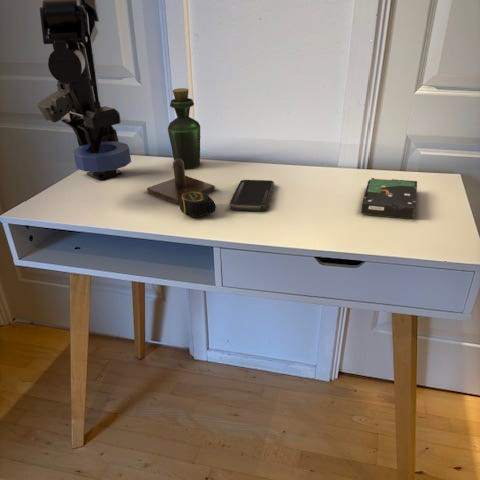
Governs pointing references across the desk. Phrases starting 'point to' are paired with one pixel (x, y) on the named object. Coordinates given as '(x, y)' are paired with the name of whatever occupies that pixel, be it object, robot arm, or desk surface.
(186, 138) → the potion bottle
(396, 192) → the disk drive
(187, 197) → the tape measure
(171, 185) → the post
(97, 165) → the ring
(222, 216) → the desk surface
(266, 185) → the phone
